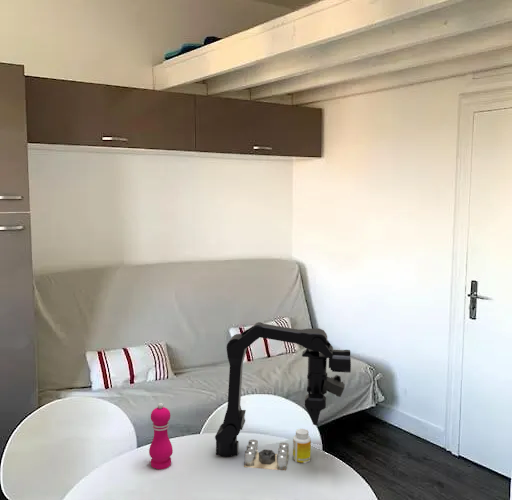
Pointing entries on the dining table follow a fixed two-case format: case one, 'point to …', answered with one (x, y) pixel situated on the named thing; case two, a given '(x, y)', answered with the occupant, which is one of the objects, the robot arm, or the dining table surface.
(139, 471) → the dining table surface
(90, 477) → the dining table surface
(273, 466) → the board
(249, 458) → the spacers
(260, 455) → the nut
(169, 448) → the pepper mill
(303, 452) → the supplement bottle
